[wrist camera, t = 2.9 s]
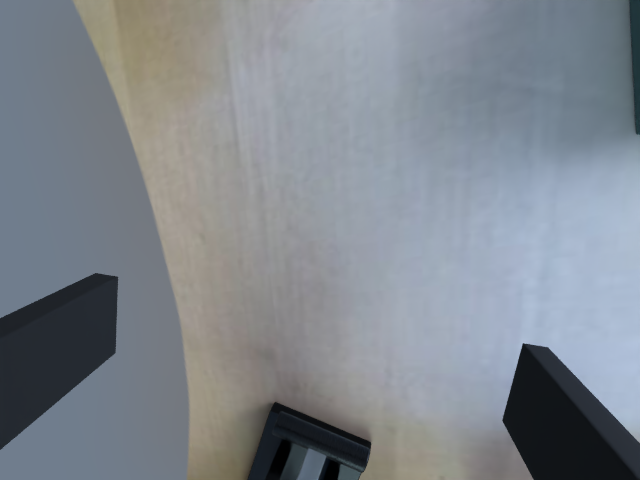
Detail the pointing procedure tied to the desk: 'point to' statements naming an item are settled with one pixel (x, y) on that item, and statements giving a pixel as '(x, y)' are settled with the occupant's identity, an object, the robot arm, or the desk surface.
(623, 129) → the desk surface
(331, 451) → the lever
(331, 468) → the black lever stand
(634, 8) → the dark green button base
